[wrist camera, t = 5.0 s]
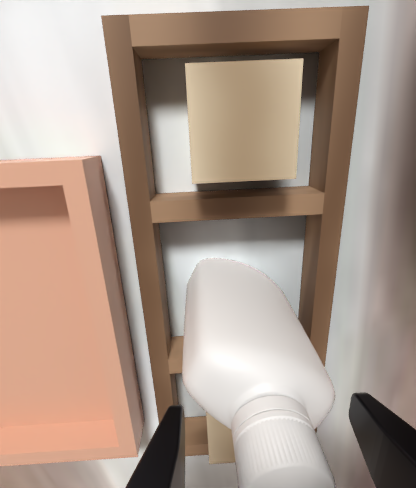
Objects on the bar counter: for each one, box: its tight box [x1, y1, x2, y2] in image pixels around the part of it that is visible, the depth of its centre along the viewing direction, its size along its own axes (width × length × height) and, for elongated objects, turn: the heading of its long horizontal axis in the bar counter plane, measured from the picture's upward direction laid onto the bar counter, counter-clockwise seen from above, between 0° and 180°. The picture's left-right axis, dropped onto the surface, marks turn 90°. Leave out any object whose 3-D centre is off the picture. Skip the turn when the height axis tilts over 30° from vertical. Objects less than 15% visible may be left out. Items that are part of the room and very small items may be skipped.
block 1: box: [206, 412, 235, 464], centre depth 18 cm, size 4×4×4 cm
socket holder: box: [101, 6, 369, 456], centre depth 16 cm, size 10×24×2 cm, turn 2°
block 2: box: [185, 58, 303, 184], centre depth 12 cm, size 4×4×4 cm
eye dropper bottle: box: [182, 258, 336, 488], centre depth 12 cm, size 4×6×12 cm
